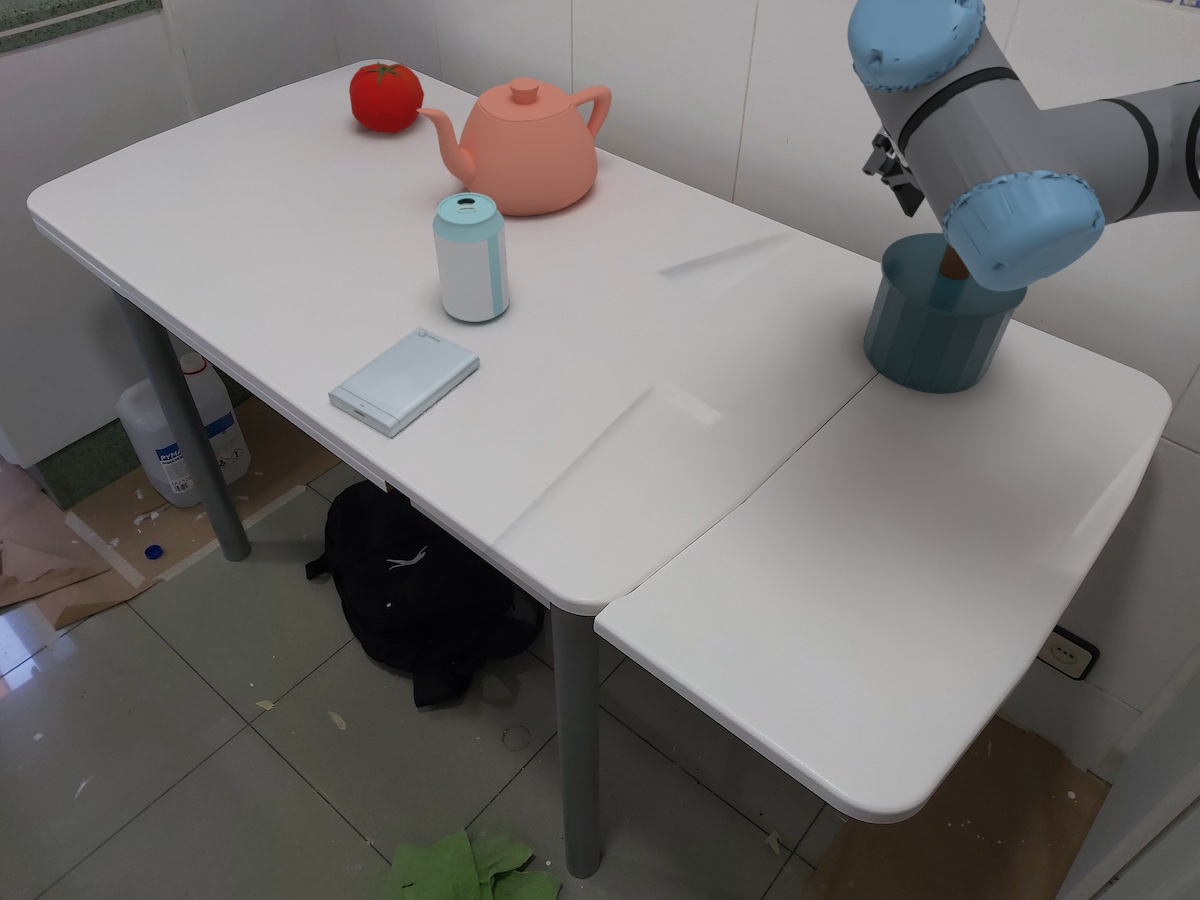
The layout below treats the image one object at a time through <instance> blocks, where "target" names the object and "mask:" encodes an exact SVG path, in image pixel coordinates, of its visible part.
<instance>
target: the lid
mask: <svg viewBox="0 0 1200 900" xmlns="http://www.w3.org/2000/svg"><path fill="white" fill-rule="evenodd" d="M880 270H881V274H882V276H883V277H884V279H885V281H886V282H887V283H888V285H889V286H890V287H891V288H892V289H893V290H894V291H895V292H896V293H897V294H898V295H900V296H901V297H902V298H904V299H905V300H907V301H908V302H910V303H912V304H914V305H916V306H918V307H920V308H922V309H925V310H928V311H930V312H933V313H936V314H940V315H944V316H949V317H954V318H961V319H987V318H993V317H998V316H1001V315H1004V314H1007V313H1009V312H1011V311H1013V310H1014V309H1015V310H1016V309H1017V308H1019V306H1020V305H1021V304H1022V303H1023V301H1024V300H1025V298H1026V295H1027V294H1028V293H1027V292H1028V286H1026V287H1023V288H1019V289H1015V290H1010V291H993V290H989V289H986V288H984V287H982V286H980V285H979V284H978V283H977V282H976V281H975V279H974V278H973V276H972V275H971V273H970V272H969V270H968V269H967V267H966V265H965V264H964V262H963V261H962V259H961V258H960V256H959V255H958V253H957V252H956V250H955V249H954V248H952V247H951V246H950V245H949V244H948V242H947V240H946V238H945V237H944V234H943V233H941V232H924V233H917V234H911V235H907V236H905V237H902V238H900V239H897V240H895V241H894V242H892V243H891V244H890V245H889V246H888V247H887V248H886V249H885V251H884V252H883V254H882V256H881V261H880ZM1015 310H1014V311H1015Z"/></svg>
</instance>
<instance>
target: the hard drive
mask: <svg viewBox="0 0 1200 900" xmlns="http://www.w3.org/2000/svg"><path fill="white" fill-rule="evenodd" d="M480 361H481V360H480V357H479V356H478V354H476V353H474V352H473V351H471V350H469V349H466V348H464V347H463V346H460V345H458V344H456V343H455V342H452V341H451V340H449V339H446V338H444V337H442V336H441V335H439V334H436V333H434V332H433V331H431V330H428V329H426V328H424V327H422V326H418V327H416V328H415V329H413V330H412V331H410V332H409V333H408V334H407V335H405V336H403V337H402V338H401V339H399V340H398V341H397V342H395V343H394V344H393V345H391V346H390V347H389V348H387V349H386V350H384V351H383V352H381V354H379V355H378V356H376V357H375V358H373V359H372V360H370V361H369V362H368V363H366V364H364V365H363V366H362V367H361V368H360V369H358V370H357V371H356V372H354V373H353V374H352V375H350V376H349V377H347V378H346V379H345V380H343V381H342V382H340V383H339V384H338V385H336V386H335V387H334V388H332V389H330V390H329V392H328V393H327V395H328V399H329V402H330V403H331V404H332V405H333V406H335V407H337V408H339V409H340V410H342V411H344V412H346V413H347V414H348V415H351V416H352V417H354V418H356V419H358V420H359V421H361V422H363V423H364V424H365V425H368V426H370V427H371V428H373V429H375V430H377V431H379V432H380V433H382V434H383V435H385V436H387V437H388V438H393V437H394V436H395V435H397V434H398V433H400V431H402V429H405V427H407V426H408V425H410V423H411V422H413V421H414V420H415V419H416V418H418V417H419V416H420V415H422V414H423V413H424V412H425V411H426V410H427V409H429V408H430V407H431V406H432V405H434V404H435V403H436V402H437V401H439V400H440V399H441V398H442V397H444V396H445V395H446V394H447V393H448V392H450V391H452V389H454V387H456V386H457V385H458V384H460V383H461V382H462V381H463V380H464V379H466V377H468V376H469V375H470V374H472V373H473V372H474V371H475V370H476V369H478V368H479V367H480V366H481V362H480Z"/></svg>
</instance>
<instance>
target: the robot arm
mask: <svg viewBox="0 0 1200 900" xmlns="http://www.w3.org/2000/svg"><path fill="white" fill-rule="evenodd" d="M986 11H987V9H986V5H985V3H984V1H983V0H857V1H856V3H855V5H854V7H853V9H852V12H851V14H850V17H849V21H848V24H847V34H846V36H847V44H848V48H849V52H850V55H851V58H852V60H853V63H852V69H853V72H854V73H855V74H856V76H858V79H859V81H860V82H861V84H862V85H863V87H864V89H865V91H866V94H867V95H868V98H869V101H870V102H871V104H872V106H873V108H874V110H875V112H876V113H877V115H878V118H879V119H880V122H881V126H880V128H879V129H878V131H877V133H876V134H875V136H874V138H873V139H872V141H871V146H872V148H873V151H872V152H871V154H870V155H869V158H868V159H867V160H866V162H865V164H864V166H862V168H861V171H862V172H863V173H864V175H866V176H870V177H874V176H875V175H876V174H878V175H879V176H881V178H880V179H879V180H880V181H881V182H882V184H883V185H885V186H888V187H889V189H890V190H891V191H892V193H894V196H895V197H896V199H897V203H898V204H899V205H900V208H901V210H902V211H903V213H904V216H906V217H909V218H911V219H913V218H914V216H915V214H916V213H917V211H918V209H919V208H920V206H921V205H922V204H923V201H924V200H925V199H926V201H927V204H928V205H929V207H930V208H931V211H932V212H933V214H934V216H935V218H936V221H937V222H938V224H939V225H940V227H941V229H942V233H943V234H944V237H945V238H946V240H947V242H948V244H949V245H950V246H951V247H952V248H954V249H955V250H956V252H957V253H958V255H959V256H960V258H961V259H962V261H963V262H964V264H965V265H966V267H967V269H968V270H969V272H970V273H971V275H972V276H973V278H974V279H975V281H976V282H977V283H978V284H979V285H980V286H982V287H984V288H986V289H989V290H993V291H1010V290H1015V289H1019V288H1023V287H1026V286H1027V287H1029V286H1030V285H1032V284H1033V283H1036V282H1037V281H1039V280H1041V279H1048V278H1050V277H1052V276H1054V275H1055V274H1057V273H1059V272H1061V271H1062V270H1064V269H1066V268H1068V267H1069V266H1072V264H1073V263H1075V262H1076V261H1078V260H1079V259H1080V258H1082V257H1083V256H1084V255H1085V254H1086V253H1088V252H1089V251H1090V250H1091V249H1092V248H1093V247H1094V246H1095V245H1096V244H1097V243H1098V242H1099V240H1100V238H1101V236H1102V235H1103V234H1104V232H1105V227H1106V226H1108V225H1112V224H1117V223H1119V222H1123V221H1127V220H1132V219H1137V218H1142V217H1148V216H1151V215H1159V214H1166V213H1184V212H1185V213H1186V212H1200V78H1199V79H1194V80H1190V81H1185V82H1184V81H1183V82H1179V83H1175V84H1172V85H1168V86H1165V87H1160V88H1154V89H1149V90H1144V91H1139V92H1134V93H1129V94H1124V95H1120V96H1115V97H1111V98H1110V97H1109V98H1100V99H1096V100H1092V101H1086V102H1081V103H1075V104H1070V105H1064V106H1058V107H1053V108H1048V109H1047V108H1046V109H1041V108H1039V107H1038V105H1037V104H1036V102H1035V100H1034V99H1033V98H1032V96H1031V94H1030V93H1029V91H1028V90H1027V88H1026V86H1025V85H1024V83H1023V82H1022V81H1021V79H1020V78H1019V76H1018V74H1017V73H1016V72H1015V70H1014V69H1013V67H1012V66H1011V64H1010V62H1009V60H1008V59H1007V58H1006V56H1005V54H1004V53H1003V51H1002V50H1001V48H1000V46H999V45H998V43H997V41H995V39H994V37H993V35H992V34H991V32H990V30H989V28H988V25H987V23H986V20H987V18H986V17H987V16H986V15H985V12H986ZM894 154H895V155H894ZM893 155H894V157H893V158H892V156H893Z"/></svg>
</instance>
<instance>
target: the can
mask: <svg viewBox="0 0 1200 900" xmlns="http://www.w3.org/2000/svg"><path fill="white" fill-rule="evenodd" d="M436 212H437V213H436V214H435V216H434V217H433V219H432V231H433V233H432V234H433V241H434V245H435V246H434V247H435V254H436V261H437V262H436V263H437V268H438V276H439V284H440V290H441V291H440V292H441V297H442V305H443V308H444V310H445V311H446V312H447V314H449V315H450V316H451V317H453V318H455V319H457V320H461V321H464V322H469V323H482V322H485V321H488V320H491V319H494V318H496V317H498V316H499V315H501V314H502V313H503V312H505V311H506V309H507V308H508V306H509V304H510V288H509V287H510V286H509V276H508V275H509V274H508V260H507V246H506V245H507V244H506V233H505V231H506V230H505V219H504V217H503V214H501V213H500V212H499V211H498V210H497V209H496V204H495V202H494V201H493V200H492V199H491V198H489V197H488V196H485V195H483V194H479V193H471V192H460V193H459V192H458V193H455V194H452V195H449V196H447V197H444V198H443V199H442V200H441V201H440V202H439V203H438V205H437V208H436Z"/></svg>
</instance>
